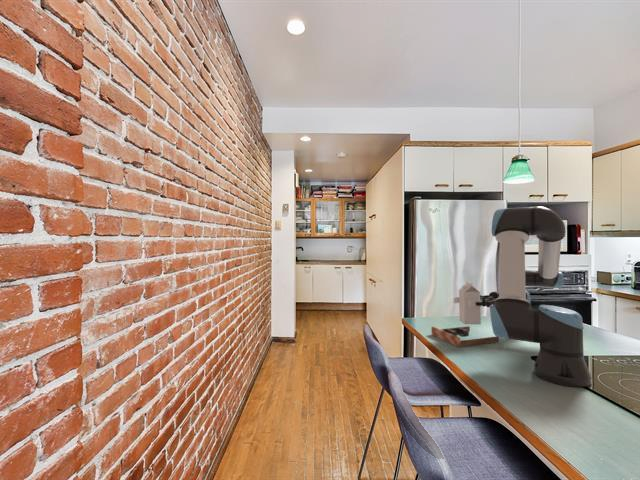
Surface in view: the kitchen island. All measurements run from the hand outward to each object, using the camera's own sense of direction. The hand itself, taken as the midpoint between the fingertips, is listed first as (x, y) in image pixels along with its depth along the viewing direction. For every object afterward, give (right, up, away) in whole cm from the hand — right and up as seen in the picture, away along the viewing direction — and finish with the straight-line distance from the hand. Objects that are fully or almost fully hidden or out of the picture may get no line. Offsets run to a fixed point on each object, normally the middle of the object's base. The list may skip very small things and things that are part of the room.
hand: (461, 302), depth 142 cm
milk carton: (+5, -10, +1) cm, 11 cm away
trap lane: (+3, -18, +3) cm, 18 cm away
